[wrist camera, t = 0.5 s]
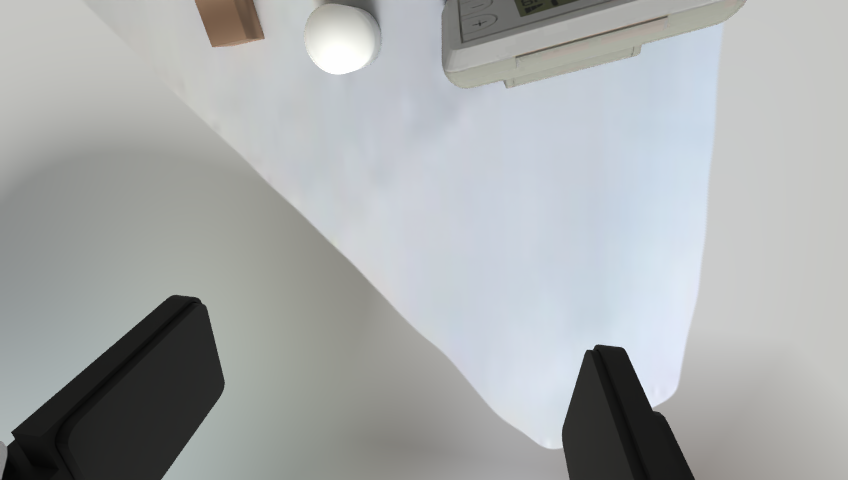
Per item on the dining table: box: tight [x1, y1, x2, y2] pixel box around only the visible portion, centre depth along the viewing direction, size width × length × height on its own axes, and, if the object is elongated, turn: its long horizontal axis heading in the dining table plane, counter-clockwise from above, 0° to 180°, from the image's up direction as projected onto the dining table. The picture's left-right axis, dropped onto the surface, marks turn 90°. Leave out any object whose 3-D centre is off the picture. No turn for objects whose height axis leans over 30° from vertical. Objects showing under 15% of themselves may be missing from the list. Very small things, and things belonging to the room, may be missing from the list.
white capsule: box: [304, 4, 382, 74], centre depth 31 cm, size 4×4×5 cm
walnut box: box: [195, 0, 265, 47], centre depth 32 cm, size 4×3×3 cm
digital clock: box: [442, 0, 746, 89], centre depth 26 cm, size 16×9×11 cm, turn 93°
